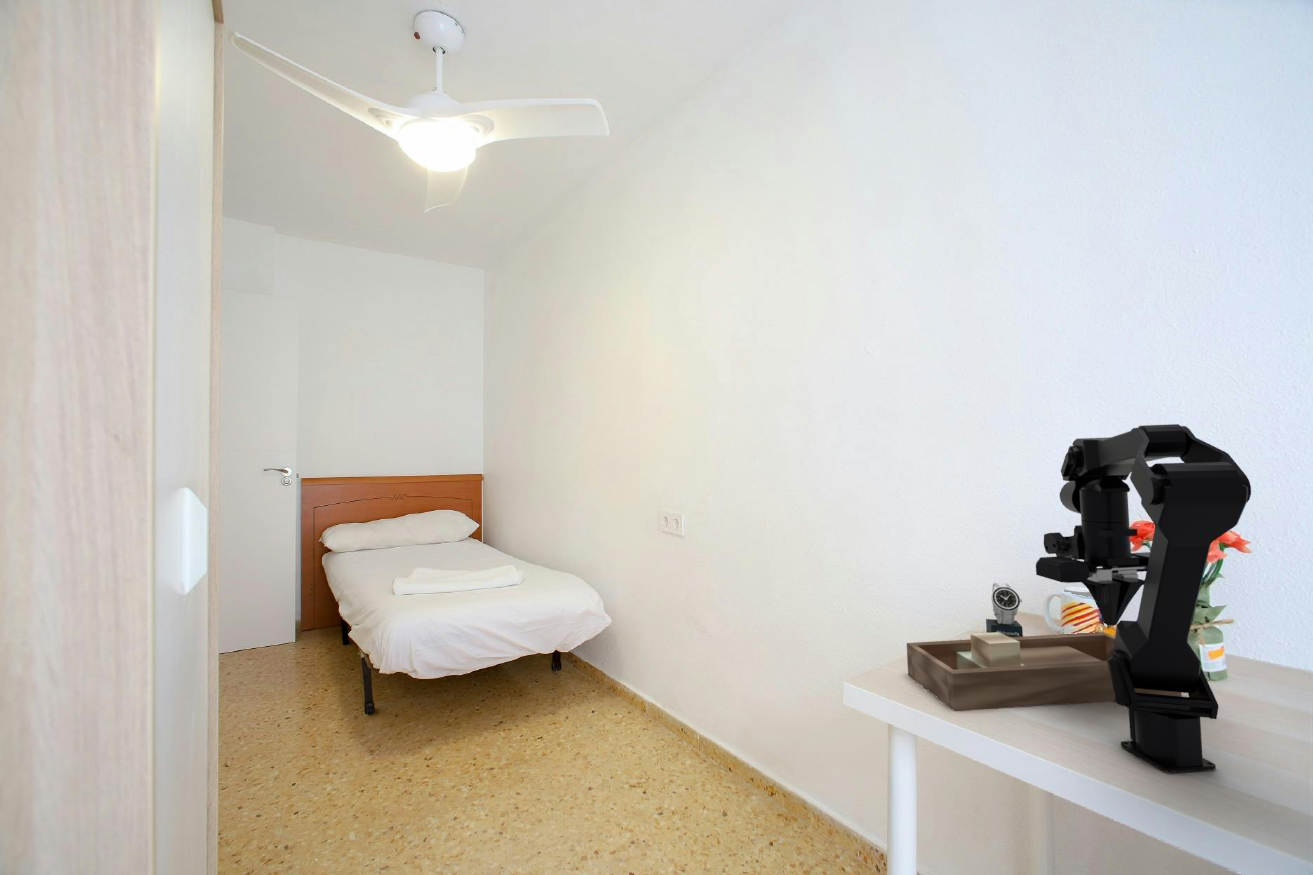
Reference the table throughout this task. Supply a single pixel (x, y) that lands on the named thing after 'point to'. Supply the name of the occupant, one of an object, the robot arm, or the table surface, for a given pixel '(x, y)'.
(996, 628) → the watch
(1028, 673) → the tray
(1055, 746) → the table surface
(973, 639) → the maple block
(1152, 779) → the table surface
